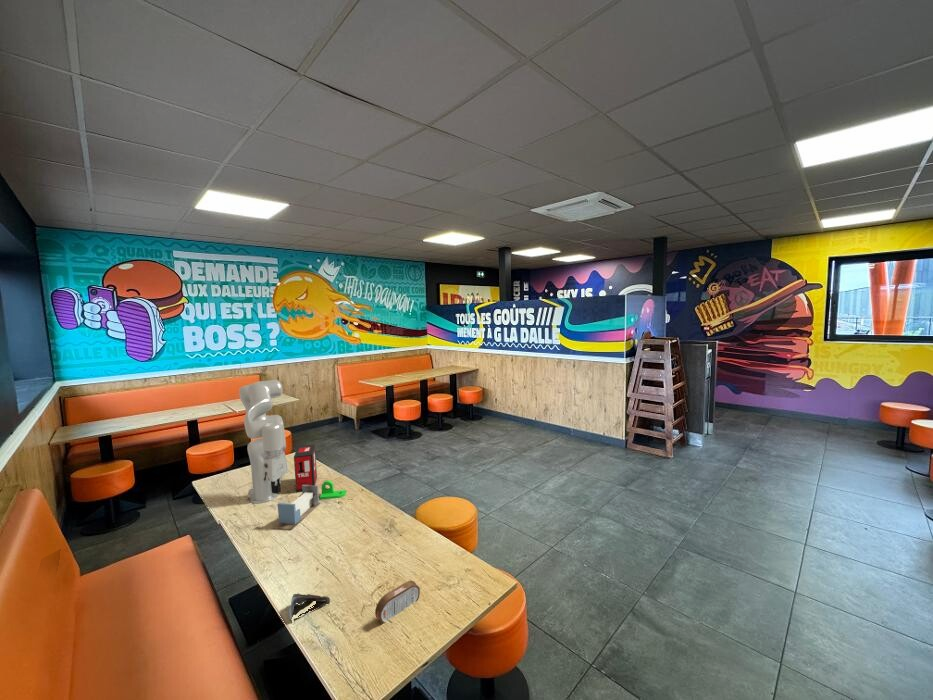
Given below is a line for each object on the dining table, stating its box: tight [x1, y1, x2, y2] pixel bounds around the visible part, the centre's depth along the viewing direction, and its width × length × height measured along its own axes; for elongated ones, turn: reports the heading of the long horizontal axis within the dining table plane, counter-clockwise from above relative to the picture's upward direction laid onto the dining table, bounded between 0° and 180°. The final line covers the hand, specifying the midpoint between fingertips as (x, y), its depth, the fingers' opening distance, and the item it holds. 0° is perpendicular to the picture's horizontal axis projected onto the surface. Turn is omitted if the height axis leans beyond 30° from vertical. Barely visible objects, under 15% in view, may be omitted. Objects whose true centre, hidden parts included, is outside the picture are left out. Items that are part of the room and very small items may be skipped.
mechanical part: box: [319, 479, 348, 501], centre depth 192 cm, size 12×6×8 cm, turn 97°
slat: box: [290, 492, 313, 516], centre depth 175 cm, size 4×16×6 cm, turn 170°
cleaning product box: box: [293, 443, 318, 493], centre depth 205 cm, size 16×9×20 cm, turn 17°
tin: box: [374, 580, 421, 624], centre depth 116 cm, size 15×3×8 cm, turn 133°
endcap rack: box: [272, 484, 322, 531], centre depth 173 cm, size 9×23×10 cm, turn 170°
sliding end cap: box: [277, 502, 301, 524], centre depth 167 cm, size 8×4×9 cm, turn 80°
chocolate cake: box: [288, 592, 331, 619], centre depth 118 cm, size 10×7×12 cm
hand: (276, 492), depth 160 cm, fingers closed
